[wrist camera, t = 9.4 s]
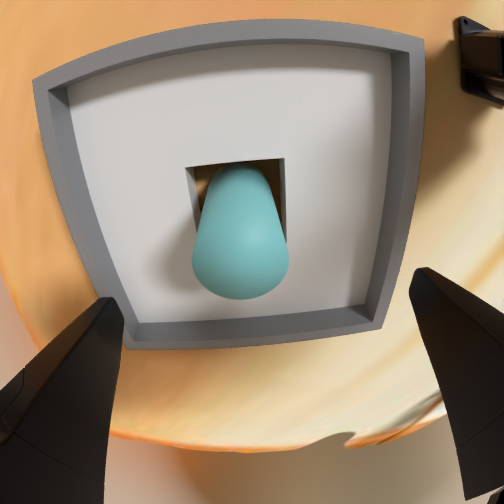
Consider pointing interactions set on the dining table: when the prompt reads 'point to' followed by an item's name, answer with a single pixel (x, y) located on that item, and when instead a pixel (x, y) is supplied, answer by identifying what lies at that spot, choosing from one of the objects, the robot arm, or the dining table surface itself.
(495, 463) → the robot arm
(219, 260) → the peg
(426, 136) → the dining table surface
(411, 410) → the dining table surface
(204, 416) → the dining table surface
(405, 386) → the dining table surface
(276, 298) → the box
